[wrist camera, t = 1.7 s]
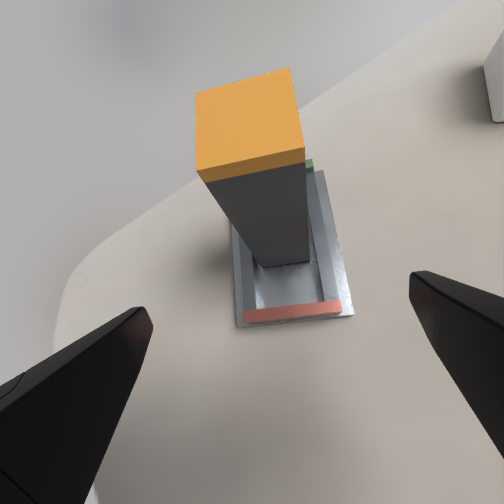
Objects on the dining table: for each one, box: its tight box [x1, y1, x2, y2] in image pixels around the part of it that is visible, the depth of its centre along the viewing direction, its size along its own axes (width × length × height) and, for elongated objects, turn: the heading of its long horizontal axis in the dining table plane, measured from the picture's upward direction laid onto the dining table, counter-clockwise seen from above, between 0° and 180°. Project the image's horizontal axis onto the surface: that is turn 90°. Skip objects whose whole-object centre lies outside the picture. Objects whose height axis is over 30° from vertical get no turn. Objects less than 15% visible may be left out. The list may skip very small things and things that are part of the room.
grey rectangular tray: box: [231, 159, 354, 327], centre depth 22 cm, size 13×9×3 cm
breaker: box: [196, 68, 310, 268], centre depth 16 cm, size 4×4×13 cm
